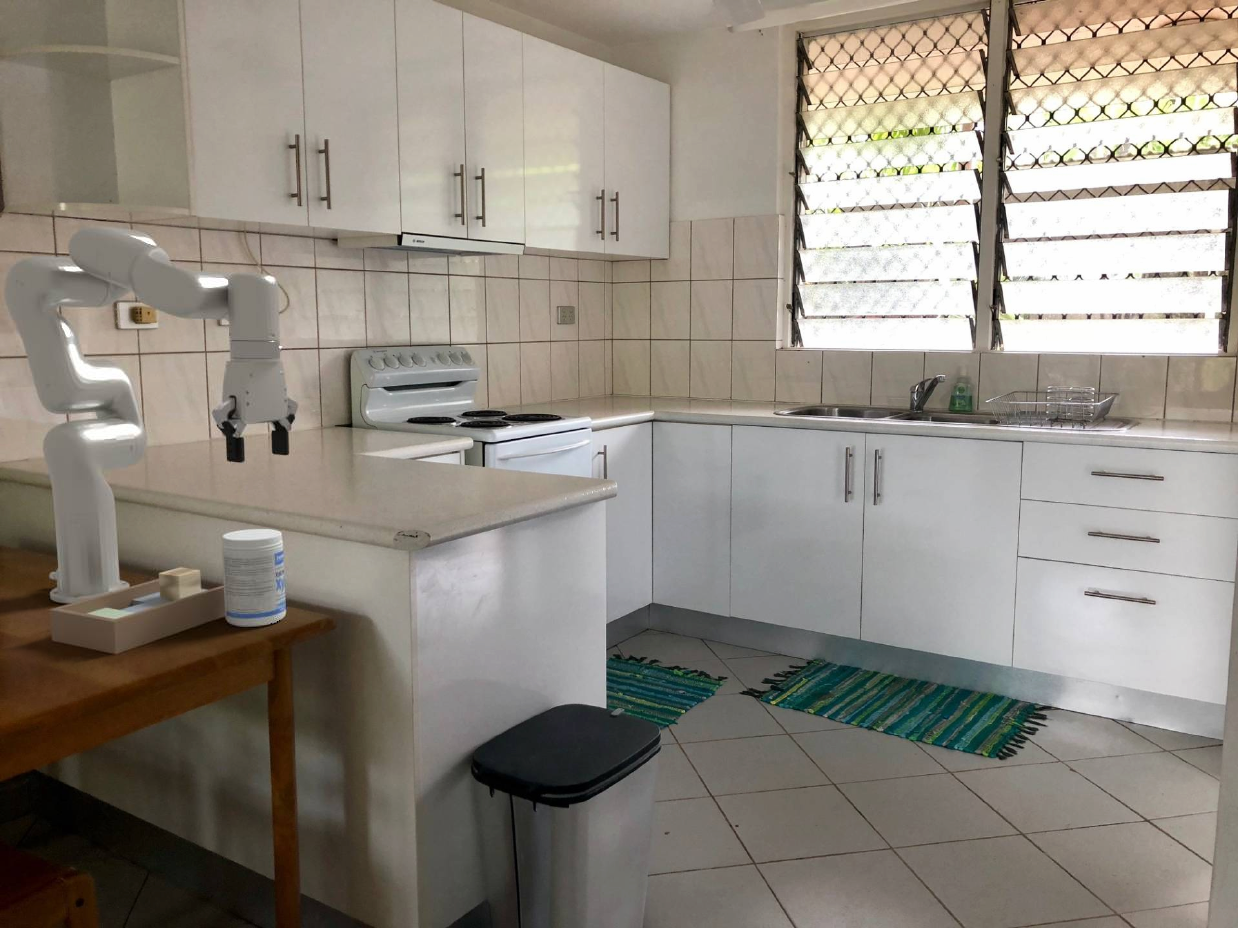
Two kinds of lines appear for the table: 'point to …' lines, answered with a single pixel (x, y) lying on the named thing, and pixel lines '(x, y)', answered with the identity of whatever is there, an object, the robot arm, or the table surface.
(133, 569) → the table surface
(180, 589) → the maple block
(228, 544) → the supplement tub
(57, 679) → the table surface
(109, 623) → the box
